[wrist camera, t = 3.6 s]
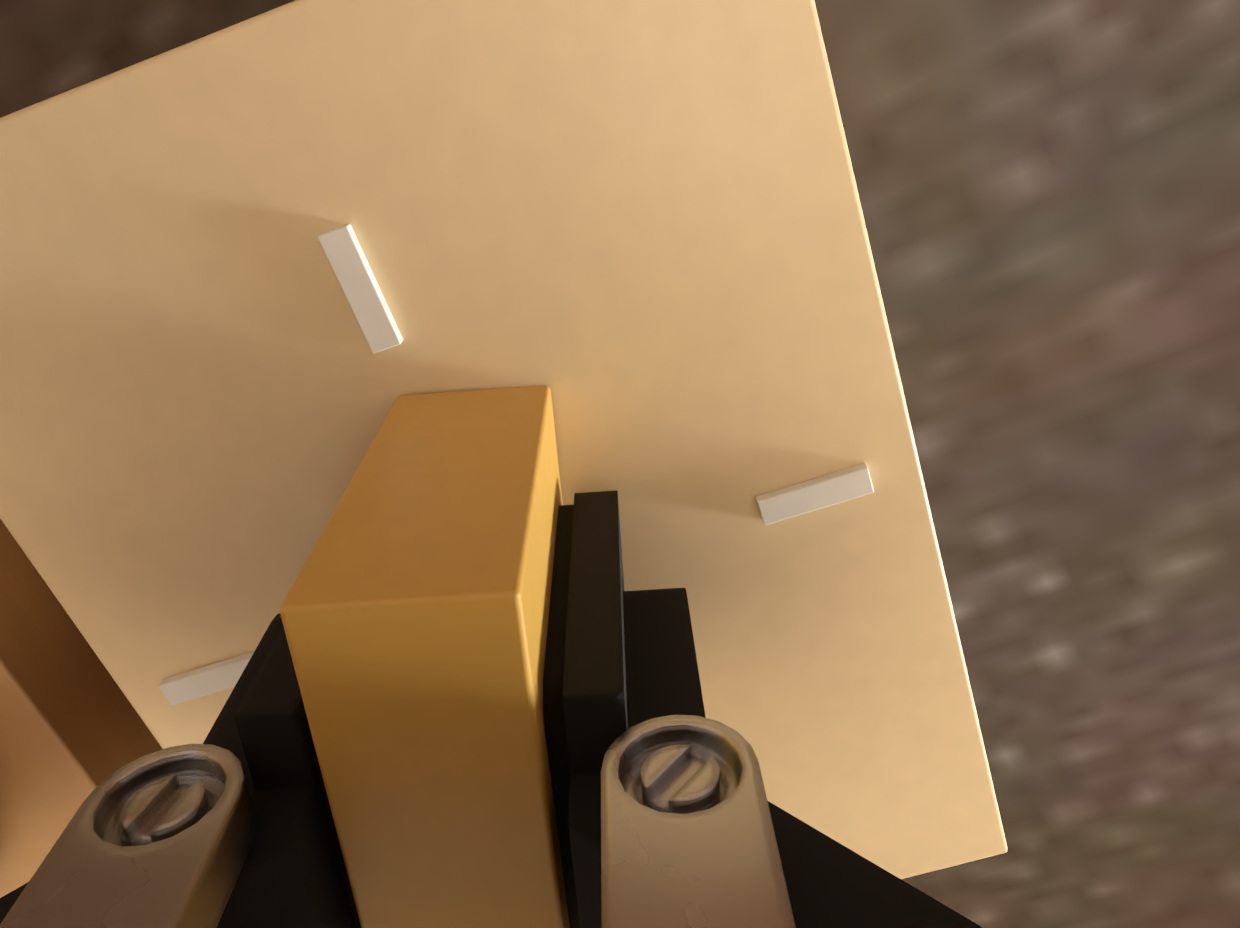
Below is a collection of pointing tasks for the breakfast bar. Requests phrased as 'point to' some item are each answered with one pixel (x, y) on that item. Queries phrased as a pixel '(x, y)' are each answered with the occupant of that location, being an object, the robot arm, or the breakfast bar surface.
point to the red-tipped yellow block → (439, 664)
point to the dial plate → (491, 356)
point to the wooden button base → (51, 719)
